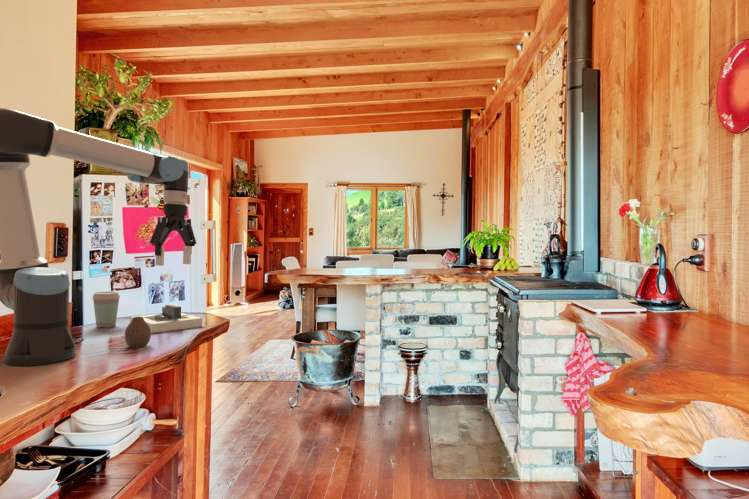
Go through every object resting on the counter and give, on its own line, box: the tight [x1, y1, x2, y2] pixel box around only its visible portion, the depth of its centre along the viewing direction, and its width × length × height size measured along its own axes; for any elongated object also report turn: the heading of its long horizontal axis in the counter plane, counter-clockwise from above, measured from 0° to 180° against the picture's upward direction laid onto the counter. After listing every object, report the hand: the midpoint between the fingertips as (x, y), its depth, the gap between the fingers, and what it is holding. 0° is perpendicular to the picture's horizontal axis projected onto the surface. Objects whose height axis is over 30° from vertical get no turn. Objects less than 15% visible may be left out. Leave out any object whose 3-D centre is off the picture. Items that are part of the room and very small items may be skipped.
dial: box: [154, 304, 182, 322], centre depth 167 cm, size 12×8×6 cm, turn 49°
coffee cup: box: [91, 291, 121, 328], centre depth 164 cm, size 9×8×12 cm
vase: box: [124, 316, 152, 349], centre depth 137 cm, size 7×7×9 cm
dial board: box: [129, 312, 203, 334], centre depth 168 cm, size 18×18×3 cm
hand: (173, 264), depth 161 cm, fingers open, 13 cm apart
